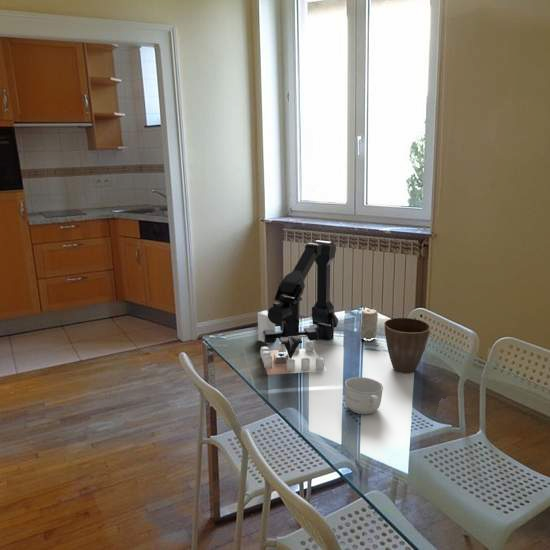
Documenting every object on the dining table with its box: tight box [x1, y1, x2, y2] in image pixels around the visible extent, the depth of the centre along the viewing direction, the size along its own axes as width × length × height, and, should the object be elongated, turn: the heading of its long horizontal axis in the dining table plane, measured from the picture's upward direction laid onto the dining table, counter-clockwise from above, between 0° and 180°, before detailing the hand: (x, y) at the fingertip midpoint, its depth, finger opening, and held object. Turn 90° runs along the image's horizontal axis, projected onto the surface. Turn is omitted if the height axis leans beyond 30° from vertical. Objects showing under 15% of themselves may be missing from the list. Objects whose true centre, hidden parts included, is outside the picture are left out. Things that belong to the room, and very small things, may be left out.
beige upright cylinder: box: [359, 308, 379, 339], centre depth 201 cm, size 6×8×12 cm
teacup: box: [344, 376, 384, 415], centre depth 146 cm, size 14×11×8 cm
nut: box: [274, 352, 289, 364], centre depth 178 cm, size 4×4×2 cm
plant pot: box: [383, 317, 431, 374], centre depth 174 cm, size 15×15×16 cm
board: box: [259, 339, 328, 376], centre depth 179 cm, size 20×20×4 cm
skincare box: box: [257, 309, 277, 345], centre depth 196 cm, size 6×4×12 cm
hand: (290, 358), depth 179 cm, fingers closed
